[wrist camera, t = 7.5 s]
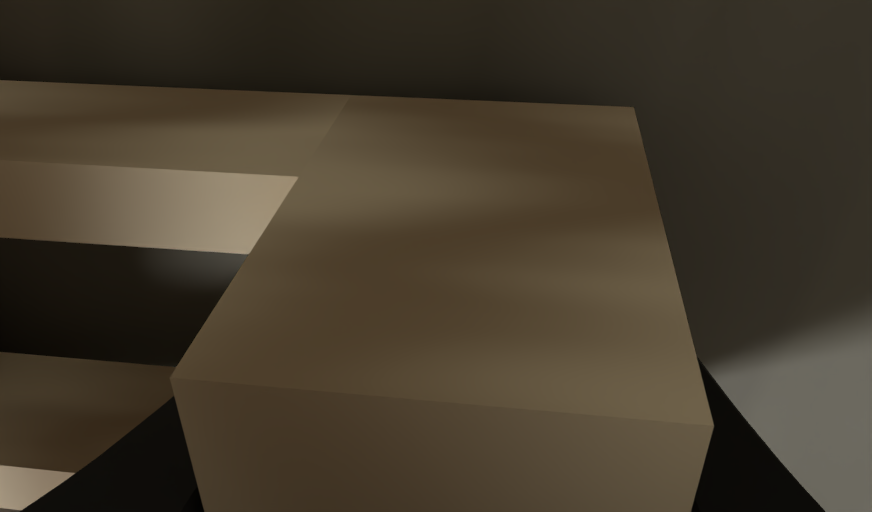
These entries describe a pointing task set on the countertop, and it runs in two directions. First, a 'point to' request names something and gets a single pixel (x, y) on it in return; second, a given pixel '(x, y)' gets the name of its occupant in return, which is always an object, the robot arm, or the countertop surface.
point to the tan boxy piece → (367, 300)
